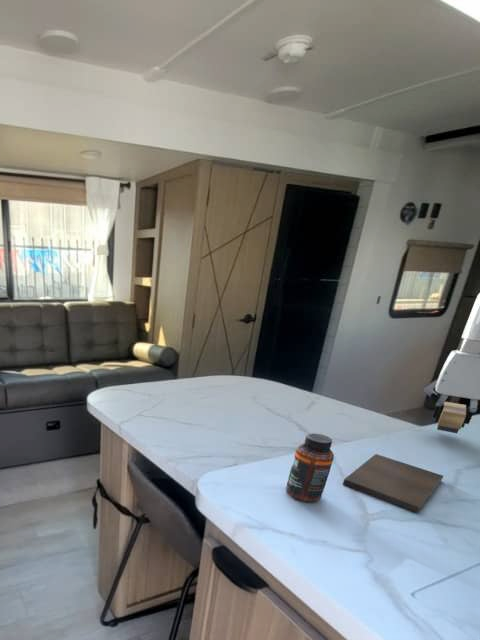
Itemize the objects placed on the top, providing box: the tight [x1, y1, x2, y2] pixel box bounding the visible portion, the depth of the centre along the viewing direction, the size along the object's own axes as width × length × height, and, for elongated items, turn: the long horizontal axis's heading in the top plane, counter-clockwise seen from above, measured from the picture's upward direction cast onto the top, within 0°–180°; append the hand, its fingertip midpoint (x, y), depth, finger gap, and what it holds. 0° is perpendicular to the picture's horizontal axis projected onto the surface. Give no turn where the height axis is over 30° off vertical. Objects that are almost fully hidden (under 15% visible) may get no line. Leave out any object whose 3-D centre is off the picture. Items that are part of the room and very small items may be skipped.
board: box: [342, 453, 444, 514], centre depth 79 cm, size 18×12×1 cm, turn 131°
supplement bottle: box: [285, 432, 335, 503], centre depth 71 cm, size 6×6×11 cm
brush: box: [436, 401, 467, 434], centre depth 98 cm, size 10×4×5 cm, turn 140°
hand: (449, 422), depth 99 cm, fingers closed on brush, 4 cm apart
